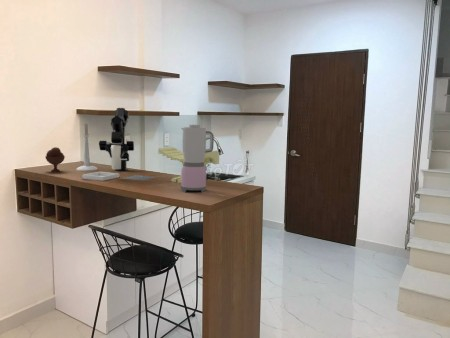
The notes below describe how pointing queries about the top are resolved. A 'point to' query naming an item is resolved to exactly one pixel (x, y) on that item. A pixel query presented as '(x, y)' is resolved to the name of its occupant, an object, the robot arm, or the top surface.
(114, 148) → the rolled placemat
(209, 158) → the slatted curved stool
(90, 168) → the candlestick
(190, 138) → the blender
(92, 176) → the grey tray
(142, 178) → the rubber mat
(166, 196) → the top surface
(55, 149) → the ice cream bowl
